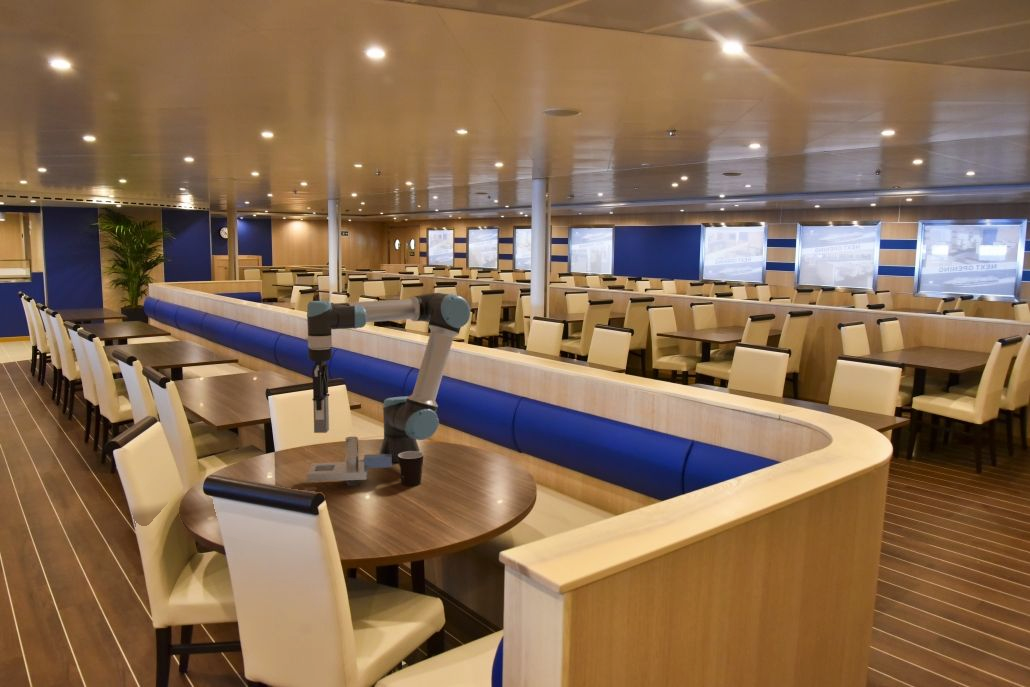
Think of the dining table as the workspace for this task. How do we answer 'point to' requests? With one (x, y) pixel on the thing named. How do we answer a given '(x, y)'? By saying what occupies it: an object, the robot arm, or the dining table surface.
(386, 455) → the grey fixture base
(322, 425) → the steel pin
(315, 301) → the robot arm
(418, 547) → the dining table surface
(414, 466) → the coffee mug
